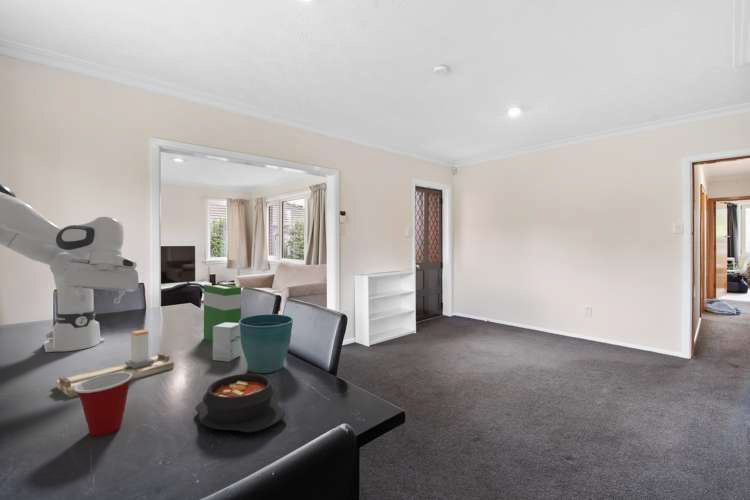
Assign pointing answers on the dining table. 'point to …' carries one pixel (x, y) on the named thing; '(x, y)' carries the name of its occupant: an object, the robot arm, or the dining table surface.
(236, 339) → the supplement box
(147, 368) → the fader console
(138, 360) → the fader handle
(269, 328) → the flower pot
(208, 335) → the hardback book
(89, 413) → the plastic cup
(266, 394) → the casserole
